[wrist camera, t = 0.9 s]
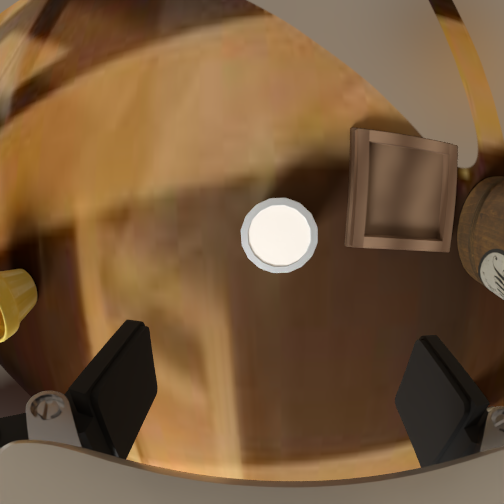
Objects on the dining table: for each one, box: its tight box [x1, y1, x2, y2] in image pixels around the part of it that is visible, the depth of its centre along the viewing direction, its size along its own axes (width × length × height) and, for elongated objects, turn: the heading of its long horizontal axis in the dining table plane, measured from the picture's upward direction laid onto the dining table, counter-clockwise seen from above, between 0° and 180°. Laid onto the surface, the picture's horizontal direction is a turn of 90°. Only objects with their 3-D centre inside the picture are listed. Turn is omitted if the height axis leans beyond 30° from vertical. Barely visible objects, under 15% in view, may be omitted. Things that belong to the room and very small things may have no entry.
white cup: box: [241, 198, 318, 273], centre depth 30 cm, size 7×7×7 cm
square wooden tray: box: [345, 127, 458, 252], centre depth 30 cm, size 13×13×2 cm
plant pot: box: [0, 269, 37, 342], centre depth 35 cm, size 10×10×10 cm
